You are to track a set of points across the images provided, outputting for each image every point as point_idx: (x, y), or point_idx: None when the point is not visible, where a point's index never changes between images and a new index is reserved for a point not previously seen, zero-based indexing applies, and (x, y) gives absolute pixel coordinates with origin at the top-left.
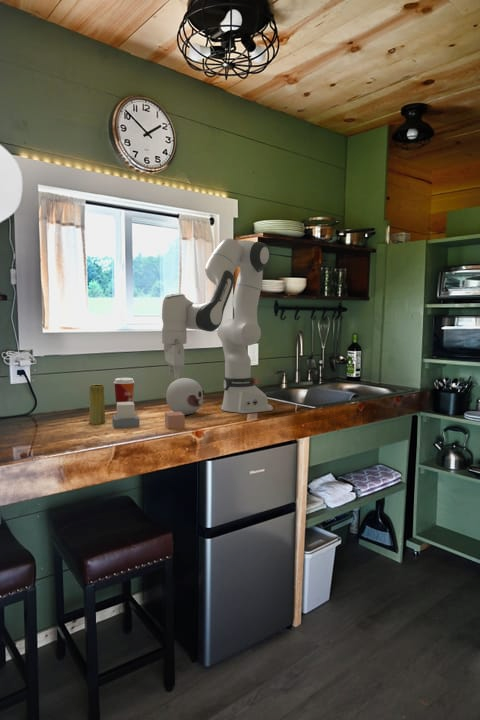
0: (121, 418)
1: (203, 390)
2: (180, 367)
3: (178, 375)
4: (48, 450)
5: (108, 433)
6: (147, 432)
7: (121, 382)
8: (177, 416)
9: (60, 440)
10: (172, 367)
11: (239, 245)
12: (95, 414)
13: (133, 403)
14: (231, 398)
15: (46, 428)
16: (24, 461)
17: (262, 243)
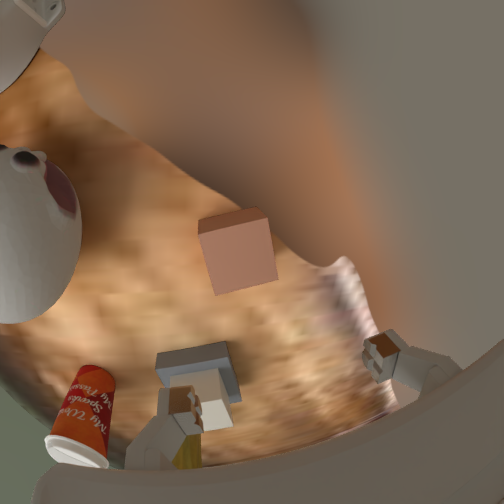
0: (226, 391)
1: None
2: (457, 365)
3: (400, 344)
4: (368, 410)
5: (289, 383)
6: (298, 311)
7: (105, 464)
8: (270, 244)
9: (320, 422)
10: (164, 441)
11: None
12: (200, 434)
13: (204, 403)
14: (4, 43)
15: (233, 455)
16: (399, 407)
17: None
